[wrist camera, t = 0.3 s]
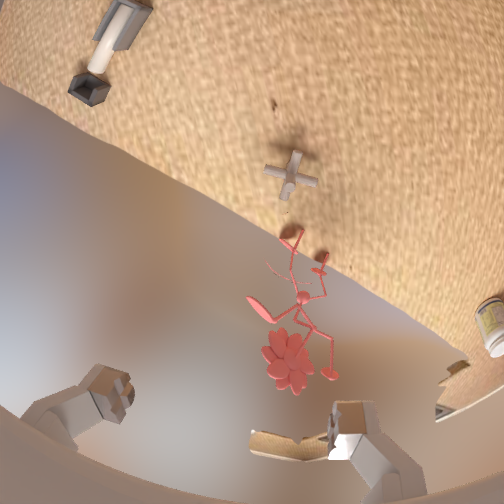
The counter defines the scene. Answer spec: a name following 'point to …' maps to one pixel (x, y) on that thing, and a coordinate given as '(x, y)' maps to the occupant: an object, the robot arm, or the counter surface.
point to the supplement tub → (491, 325)
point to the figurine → (292, 341)
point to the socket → (89, 89)
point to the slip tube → (109, 39)
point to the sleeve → (130, 27)
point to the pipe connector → (290, 175)
